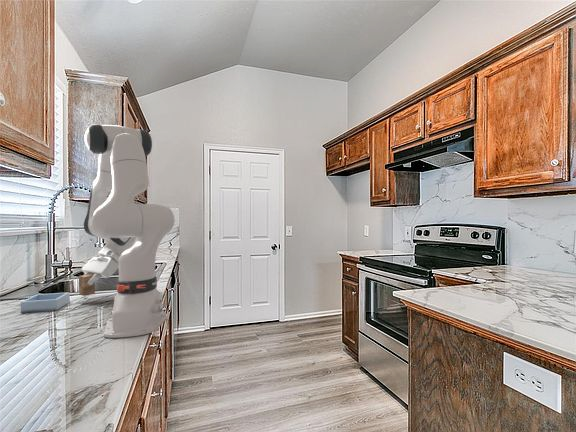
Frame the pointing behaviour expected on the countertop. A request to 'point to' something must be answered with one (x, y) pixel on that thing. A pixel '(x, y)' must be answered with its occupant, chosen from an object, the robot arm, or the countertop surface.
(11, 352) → the countertop surface
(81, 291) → the block
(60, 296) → the box
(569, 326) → the countertop surface
